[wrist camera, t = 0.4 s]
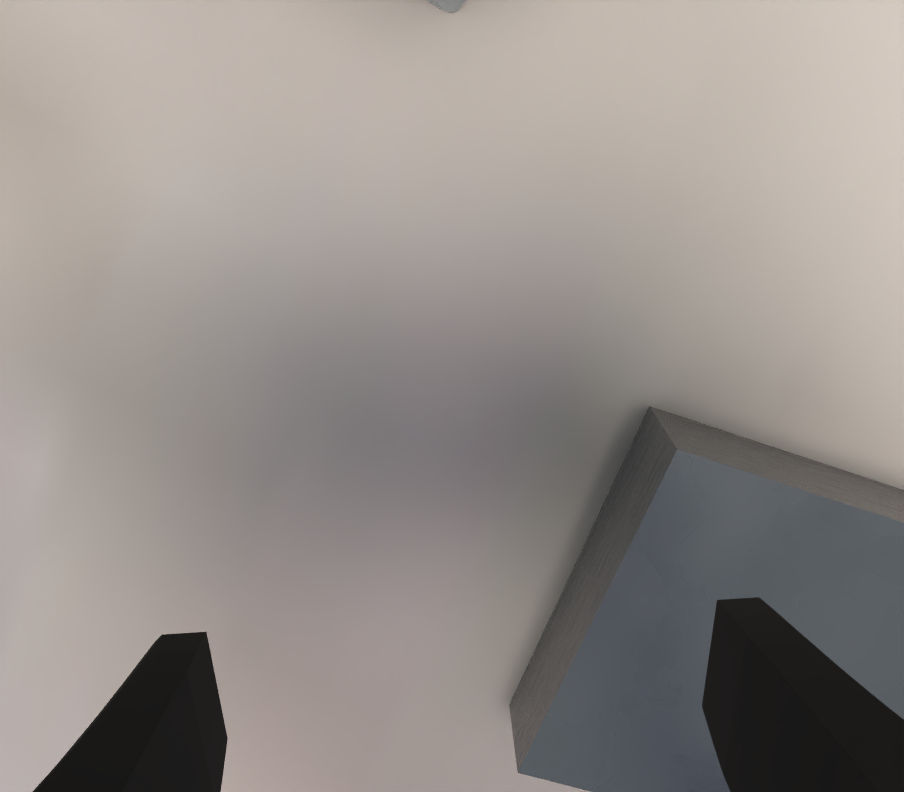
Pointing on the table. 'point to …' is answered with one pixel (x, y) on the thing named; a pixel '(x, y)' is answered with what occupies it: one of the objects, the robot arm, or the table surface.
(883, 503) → the steel slab
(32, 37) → the table surface
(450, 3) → the light bulb box
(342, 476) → the table surface
